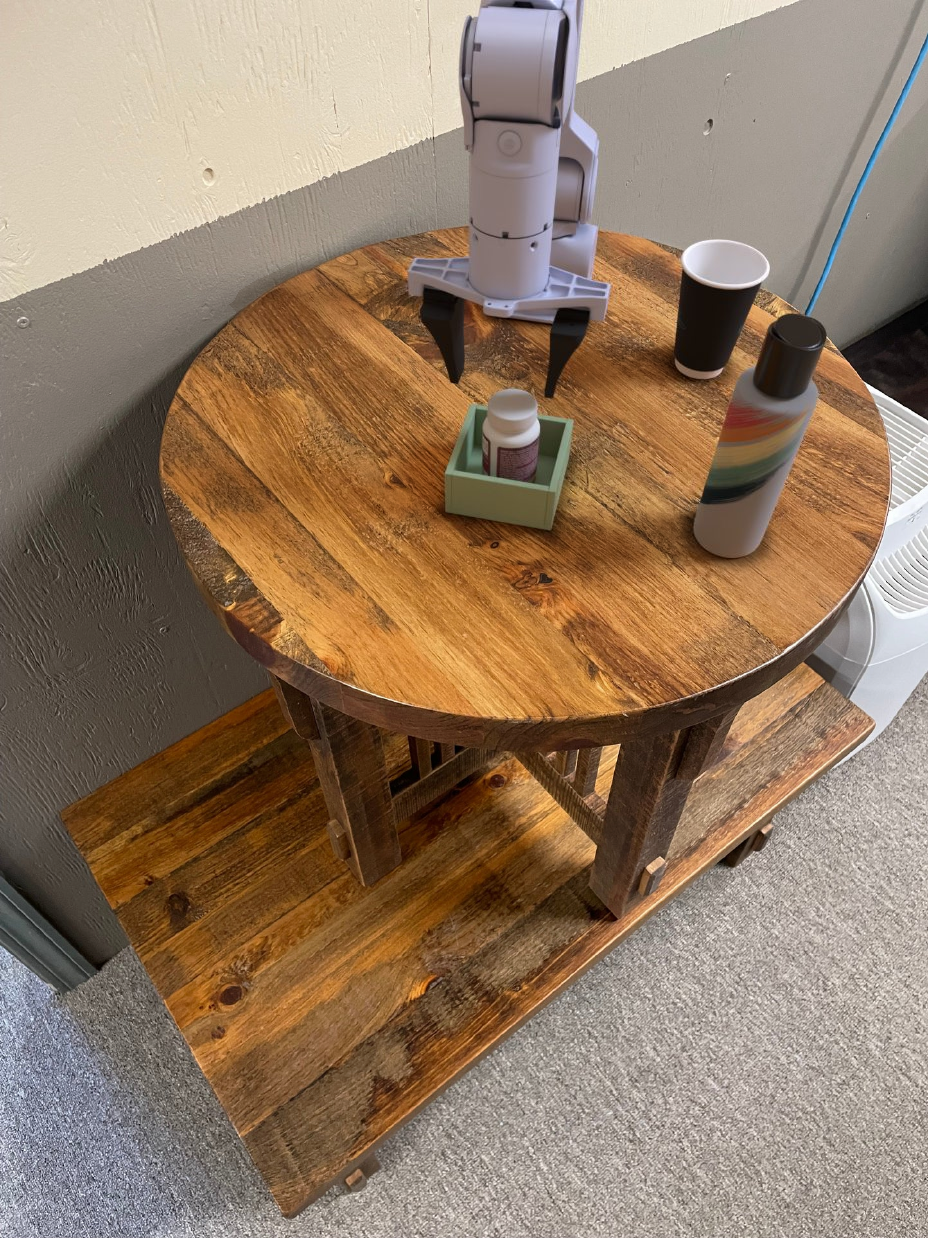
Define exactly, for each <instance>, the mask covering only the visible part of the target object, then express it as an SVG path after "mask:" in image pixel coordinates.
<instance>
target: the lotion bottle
mask: <svg viewBox="0 0 928 1238" xmlns="http://www.w3.org/2000/svg"><path fill="white" fill-rule="evenodd" d="M826 330H827V329H826V328H825V326H824V325H823V324H822V322H820V321H819V320H818V319H816V318H814V317H811V316H807V315H803V314H800V313H795V312H794V313H784V314H781V315H780V316H779V317H778V318H777V319H776V320H774V321H773V322H771V323H770V324H769V326H768V327H767V330H766V333H765V335H764V339H763V342H762V344H761V348H760V351H759V354H758V358H757V362H756V364H755V365H753V366H750V367H749V368H746V369H745V370H744V371H743V372H741V373H740V375H739V377H738V378H737V380H736V383H735V386H734V389H733V392H732V395H731V399H730V401H729V404H728V408H727V412H726V415H725V418H724V422H723V425H722V427H721V431H720V435H719V438H718V441H717V444H716V448H715V450H714V455H713V458H712V461H711V464H710V467H709V471H708V473H707V477H706V480H705V483H704V486H703V489H702V494H701V496H700V500H699V504H698V506H697V510H696V514H695V517H694V522H693V535H694V537H695V539H696V541H697V543H698V544H699V545H700V546H701V547H702V548H703V549H705V550H706V551H707V552H709V553H711V554H713V555H715V556H719V557H722V558H729V559H737V558H743V557H746V556H748V555H750V554H752V553H753V552H755V551H756V550H757V548H758V547H759V546H760V544H761V542H762V540H763V539H764V536H765V534H766V531H767V529H768V526H769V524H770V521H771V519H772V517H773V513H774V511H775V508H776V507H777V504H778V501H779V499H780V496H781V494H782V491H783V490H784V486H785V484H786V481H787V480H788V477H789V474H790V472H791V469H792V467H793V464H794V462H795V459H796V457H797V454H798V452H799V449H800V448H801V444H802V442H803V441H804V437H805V434H806V432H807V429H808V427H809V425H810V422H811V419H812V417H813V414H814V411H815V409H816V406H817V403H818V401H819V390H818V387H817V385H816V383H815V381H813V379H812V378H813V376H814V373H815V370H816V368H817V366H818V363H819V360H820V358H821V356H822V352H823V351H824V347H825V345H826V342H827V339H828V338H827V337H828V336H827V331H826Z"/></svg>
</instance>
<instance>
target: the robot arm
mask: <svg viewBox="0 0 928 1238" xmlns="http://www.w3.org/2000/svg"><path fill="white" fill-rule="evenodd" d="M584 6H585V0H480V5H479V10H478V15H477V16H472V15H470V14H469V15H467V16H466V17H465V20H464V24H463V28H462V33H461V38H460V45H459V47H460V48H459V54H458V55H459V56H458V57H459V58H458V90H459V101H460V106H461V107H460V108H461V115H462V120H463V145H464V151H468V152H469V156H468V170H469V171H468V179H469V180H468V256H461V257H460V256H459V257H444V258H424V257H413V259H412V262H411V264H410V265H409V268H408V270H407V287H408V289H407V290H408V295H409V296H412V297H413V296H414V297H423V299H422V304H421V307H420V309H419V317H420V321H421V323H422V325H424V327H425V328H426V329H427V331H428V332H429V334H430V335H431V337H432V338H433V340H434V342H435V343H436V346H437V347H438V350H439V352H440V354H441V357H442V359H443V362H444V365H445V368H446V371H447V375H448V380H449V383H450V384H456V385H459V383H460V380H461V377H462V376H463V374H464V371H465V361H466V360H465V359H466V355H465V354H466V353H465V352H466V351H465V334H464V333H465V331H464V327H465V326H464V325H465V311H466V308H465V307H466V301H470V302H472V303H474V304H477V305H480V306H482V313H483V314H484V315H486V316H491V317H497V318H503V319H504V318H505V319H507V318H508V319H509V318H510V319H516V320H523V321H530V322H538V323H545V324H551V328H550V330H549V355H548V356H549V357H548V368H547V369H548V370H547V375H546V379H545V380H546V381H545V386H544V391H543V392H544V393H543V398H545V399H554V397H555V394H556V391H557V386H558V381H559V380H560V376H562V373H563V370H564V369H565V367H566V365H567V364H568V362H569V361H570V359H571V357H572V356H573V354H575V352H576V351H577V350H578V348H579V347H580V346H581V344H582V343H583V341H584V339H585V337H586V335H587V331H588V327H589V323H590V321H592V322H599V323H604V322H605V318H606V315H607V311H608V306H609V300H610V293H611V287H612V285H611V283H609V282H603V281H599V280H593V275H594V268H595V267H594V266H595V260H596V252H597V244H598V236H599V226H598V225H595V224H592V223H589V221H590V220H591V219H592V215H593V207H594V201H595V193H596V186H597V177H598V169H599V158H598V157H599V149H600V140H599V138H598V133H597V132H596V131H595V130H594V129H593V128H592V127H591V126H590V125H589V123H587V122H586V121H585V120H584V119H583V118H582V117H581V116H579V114H578V113H577V112H576V110H575V100H576V99H575V98H576V89H577V78H578V70H579V69H578V68H579V59H580V49H581V38H582V28H583V27H582V26H583V17H584Z"/></svg>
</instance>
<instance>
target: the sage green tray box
mask: <svg viewBox="0 0 928 1238" xmlns="http://www.w3.org/2000/svg"><path fill="white" fill-rule="evenodd" d="M487 410H488V405H482V404H475V403H470V404H469V407H468V409H467V412H466V414H465V417H464V420H463V422H462V426H461V428H460V430H459V433H458V436H457V439H456V441H455V444H454V447H453V450H452V452H451V455H450V458H449V459H448V460H449V461H448V463H447V466H446V468H445V472H444V507H445V508H444V509H445V511H444V512H445V513H449V514H454V515H459V516H460V515H461V516H466V517H470V518H477V519H483V520H488V521H495V522H498V523H499V522H500V523H506V524H510V525H511V524H512V525H516V526H522V527H528V528H534V529H540V530H544V531H545V530H546V531H552V527H553V525H554V519H555V515H556V511H557V508H558V504H559V501H560V497H561V492H562V489H563V484H564V479H565V475H566V473H567V467H568V464H569V459H570V453H571V445H572V436H573V428H574V422H575V421H574V419H571V418H563V417H559V416H552V415H545V414H541V413H540V414H539V413H537V419H538V421H539V424H540V438H539V447H538V459H537V472H536V481H535V484H533V483H527V482H521V481H515V480H509V479H503V478H497V477H491V476H485V475H482V432H483V430H482V427H483V423H484V421H485V419H486V417H487Z"/></svg>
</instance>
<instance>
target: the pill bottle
mask: <svg viewBox="0 0 928 1238" xmlns="http://www.w3.org/2000/svg"><path fill="white" fill-rule="evenodd" d="M488 399H489V400H488V402H487V406H488V410H487V417H486V419H485V421H484V423H483V427H482V430H483V432H482V475H485V476H491V477H497V478H503V479H509V480H515V481H521V482H527V483H533V484H535V481H536V472H537V459H538V447H539V438H540V424H539V421H538V419H537V414H538V407H539V406H538V400H537V399H536V398H535V396H533V394H532V393H530V392H528V391H526V390H523V389H519V388H505V389H501V390H498V391H496V392H495V393H493V394H492V395H491V396H490V397H489V398H488Z"/></svg>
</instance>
